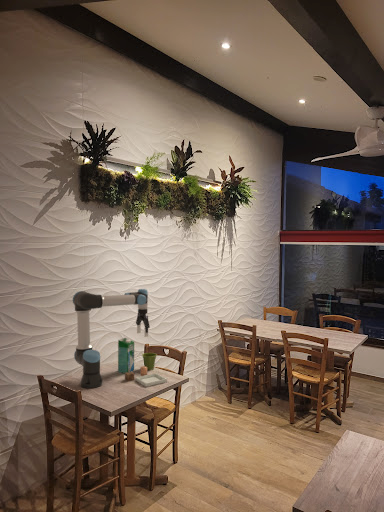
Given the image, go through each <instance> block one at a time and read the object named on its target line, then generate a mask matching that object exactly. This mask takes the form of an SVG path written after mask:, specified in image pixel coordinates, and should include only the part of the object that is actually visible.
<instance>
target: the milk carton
mask: <svg viewBox="0 0 384 512" xmlns="http://www.w3.org/2000/svg"><path fill="white" fill-rule="evenodd" d="M117 343H118V344H117V349H118V350H117V372H118V373H122V372H123V374H125V373H126V372H131V371H132V372H134V371H135V341H133V340H131V339H129V338H127V337H123V338H119V339H118V340H117ZM133 370H134V371H133Z"/></svg>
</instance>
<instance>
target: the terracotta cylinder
mask: <svg viewBox="0 0 384 512" xmlns="http://www.w3.org/2000/svg"><path fill="white" fill-rule="evenodd" d="M145 375H148V370H147V367H146V366H140V376H145Z"/></svg>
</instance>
